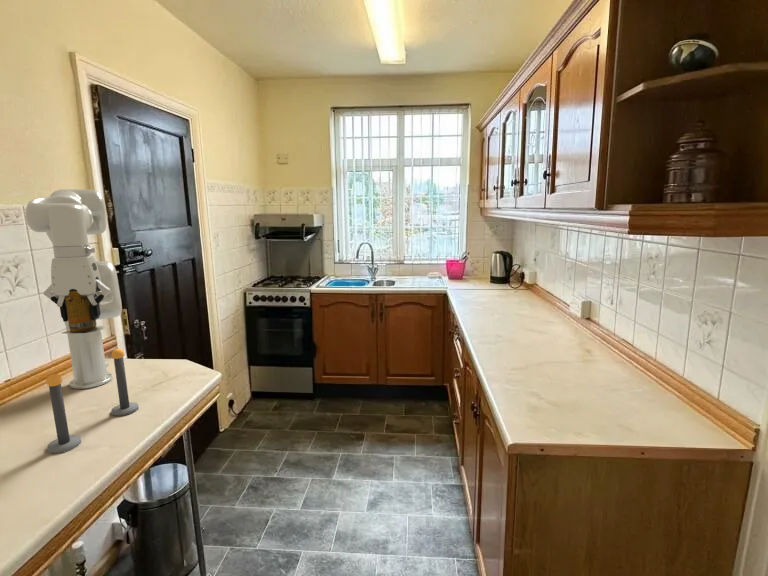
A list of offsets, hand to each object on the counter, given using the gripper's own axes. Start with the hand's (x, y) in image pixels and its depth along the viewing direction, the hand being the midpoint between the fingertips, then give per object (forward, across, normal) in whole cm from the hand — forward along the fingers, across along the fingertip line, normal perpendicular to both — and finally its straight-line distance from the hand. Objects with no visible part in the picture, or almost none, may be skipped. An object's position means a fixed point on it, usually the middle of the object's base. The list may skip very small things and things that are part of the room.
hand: (81, 318), depth 114 cm
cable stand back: (+31, -4, -9) cm, 33 cm away
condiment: (+3, -1, 0) cm, 3 cm away
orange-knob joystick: (+31, +4, +9) cm, 33 cm away
